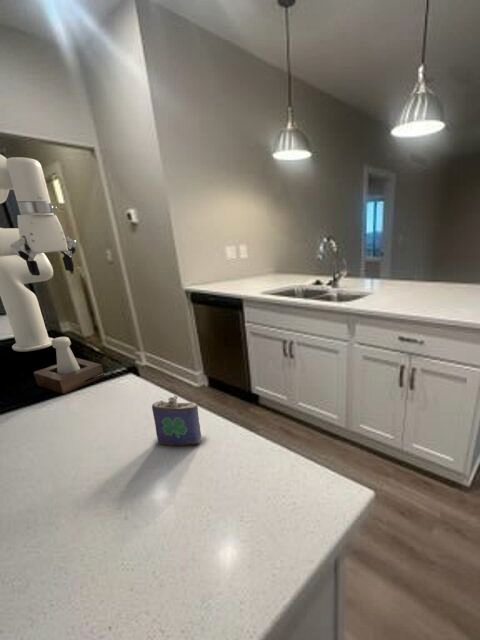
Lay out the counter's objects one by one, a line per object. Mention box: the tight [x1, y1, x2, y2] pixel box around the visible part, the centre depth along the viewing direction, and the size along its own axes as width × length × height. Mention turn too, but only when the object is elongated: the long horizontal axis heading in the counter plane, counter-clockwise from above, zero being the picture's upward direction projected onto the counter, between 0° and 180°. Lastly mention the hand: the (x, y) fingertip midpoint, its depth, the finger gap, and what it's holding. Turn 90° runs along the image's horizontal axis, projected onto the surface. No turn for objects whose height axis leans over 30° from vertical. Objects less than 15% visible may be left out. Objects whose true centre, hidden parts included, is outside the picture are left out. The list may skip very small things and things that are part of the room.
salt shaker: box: [51, 336, 80, 375], centre depth 96 cm, size 6×6×13 cm
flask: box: [151, 395, 203, 447], centre depth 70 cm, size 9×3×11 cm, turn 87°
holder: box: [33, 357, 105, 395], centre depth 98 cm, size 12×12×4 cm
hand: (53, 272), depth 101 cm, fingers open, 9 cm apart
